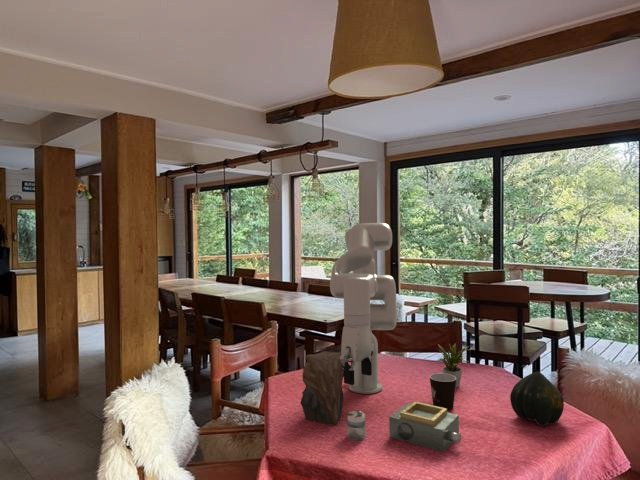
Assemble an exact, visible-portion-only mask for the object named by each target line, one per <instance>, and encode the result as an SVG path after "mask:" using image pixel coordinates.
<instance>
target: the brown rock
mask: <svg viewBox="0 0 640 480" xmlns="http://www.w3.org/2000/svg"><path fill="white" fill-rule="evenodd" d="M340 356H341V351H340V350H339V351H337V352H336V351H329V350H323V351H321V352H318V353H315V354H313V353H312V354H311V353H310V354H306V355H305V360H306V362H305V364H304V366H303V369H302V382H303V383H304V385H305V388H304V389H303V391H302V392H301V393H302V396H301V399H300V405H301V407H302V410H303V414H304V420H305V419H306V420H305V421H307V420H310V421H309V422H314V421H315V423H320V424H324V425H329V426H338V425H339V422H340V418H341V415H342V411H343V407H344V406H343V405H344V397H345V396H344V391H343V382H344V370H343V369H342V366H341V361H340Z"/></svg>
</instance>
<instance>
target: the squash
mask: <svg viewBox="0 0 640 480" xmlns="http://www.w3.org/2000/svg"><path fill="white" fill-rule="evenodd" d="M509 399H510V401H509V402H510V405H511V408H512V410H513V412H514V413H515V414H516V415H517V416H518V417H519V418H521V419H524V420H530V421H535V422H536V423H537V425H538V426H542V427H543V426H546V425H552V424H555V423H557V422H558V421H559V420H560V418H561V417H562V415H563V413H564V412H563V411H564V405H565V404H564V402H565V401H564V397H563V395H562V393H561V392H560V390H559V389H558V388H557V387H556V386H555V385H554V384H553V383H552V382H551V381H550V380H549V379H548V378H547V377H546V376H545V375H544V374H543V373H542V372H541V371H535V372H534V371H533V372H532V373H530V374H528V375H526V376H524V377H522V378H521V379H519V380H518V381H517V382H516V383H515V384H514V386H513V388H512V389H511V391H510V396H509Z"/></svg>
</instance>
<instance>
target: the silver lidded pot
mask: <svg viewBox="0 0 640 480" xmlns="http://www.w3.org/2000/svg"><path fill="white" fill-rule="evenodd" d="M346 425H347V426H346V428H347V430H346V431H347V433H346V434H347V436H346V437H347V440H349V441H352V442H362V441H364V440H365V439H366V435H367V434H366V433H367V432H366V414H365V413H364V412H363V411H362V410H355V411H353V410H351V411H348V413H347V414H346Z"/></svg>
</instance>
